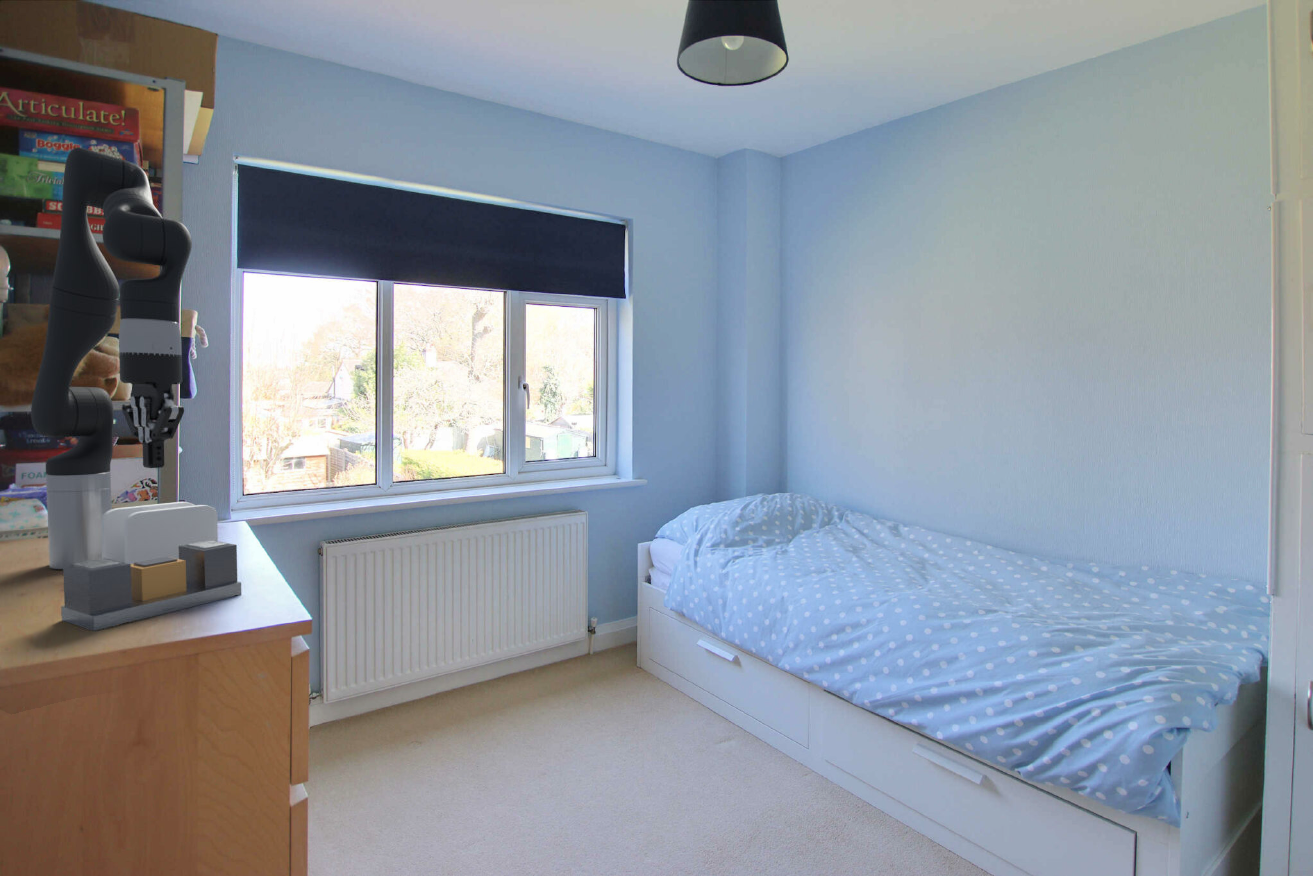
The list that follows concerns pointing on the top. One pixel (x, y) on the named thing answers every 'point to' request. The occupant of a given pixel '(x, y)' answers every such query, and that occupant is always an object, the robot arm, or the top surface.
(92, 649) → the top surface
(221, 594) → the rail plate
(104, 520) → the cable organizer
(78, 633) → the top surface
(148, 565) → the orange module
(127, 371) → the robot arm
